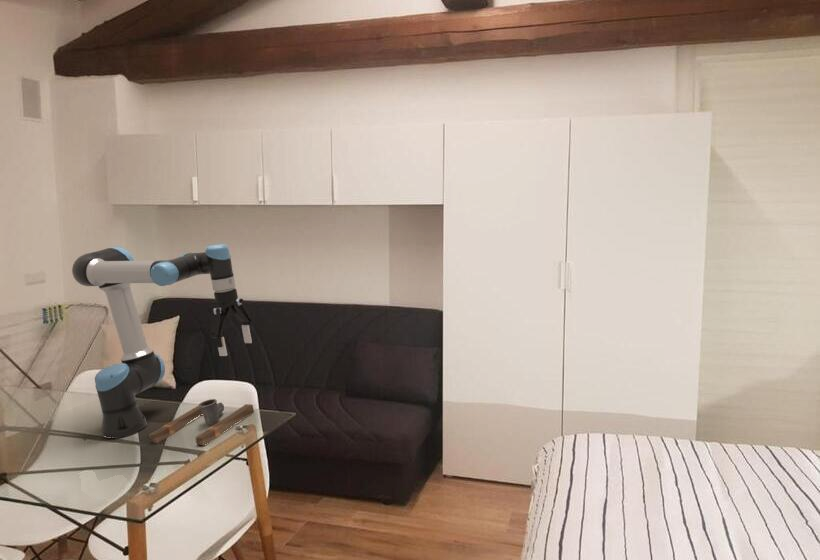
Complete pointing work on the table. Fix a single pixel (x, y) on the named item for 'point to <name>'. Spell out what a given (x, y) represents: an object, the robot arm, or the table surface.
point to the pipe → (211, 411)
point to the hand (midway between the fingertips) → (236, 349)
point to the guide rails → (206, 435)
